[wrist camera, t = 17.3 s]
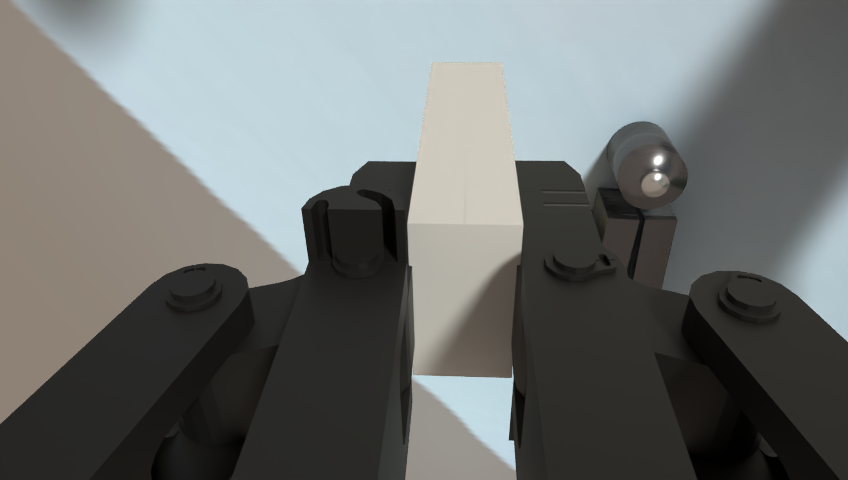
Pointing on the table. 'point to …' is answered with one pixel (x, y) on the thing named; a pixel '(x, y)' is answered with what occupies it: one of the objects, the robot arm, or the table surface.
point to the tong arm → (615, 223)
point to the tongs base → (648, 194)
